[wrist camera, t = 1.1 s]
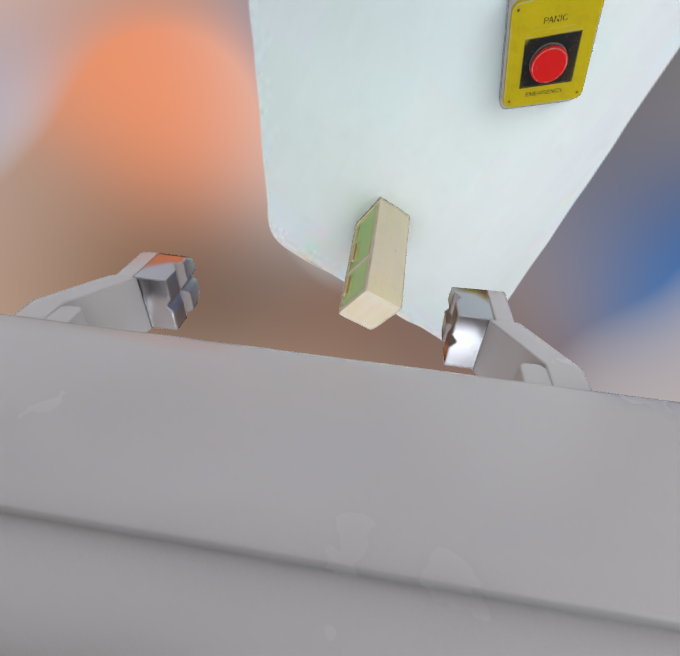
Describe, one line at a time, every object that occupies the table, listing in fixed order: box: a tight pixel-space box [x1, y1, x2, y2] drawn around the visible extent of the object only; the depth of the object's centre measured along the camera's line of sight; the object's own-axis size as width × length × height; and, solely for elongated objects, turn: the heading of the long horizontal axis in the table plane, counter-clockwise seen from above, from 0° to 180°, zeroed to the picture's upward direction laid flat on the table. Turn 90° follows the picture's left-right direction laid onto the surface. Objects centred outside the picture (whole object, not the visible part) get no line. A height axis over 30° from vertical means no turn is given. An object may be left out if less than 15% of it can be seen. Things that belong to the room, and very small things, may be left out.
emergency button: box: [499, 0, 604, 109], centre depth 47 cm, size 9×4×15 cm
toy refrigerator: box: [339, 198, 410, 329], centre depth 68 cm, size 8×7×21 cm
